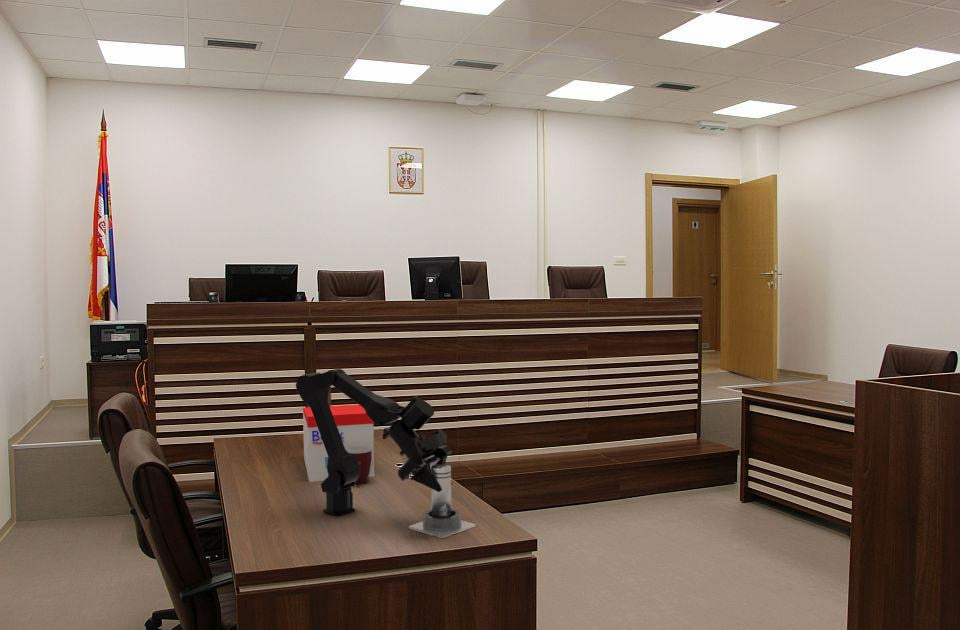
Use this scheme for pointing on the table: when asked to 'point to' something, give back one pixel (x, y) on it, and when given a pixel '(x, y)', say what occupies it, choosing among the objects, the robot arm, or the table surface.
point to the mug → (362, 462)
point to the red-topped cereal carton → (351, 429)
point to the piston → (442, 498)
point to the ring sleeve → (442, 524)
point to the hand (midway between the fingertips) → (445, 488)
